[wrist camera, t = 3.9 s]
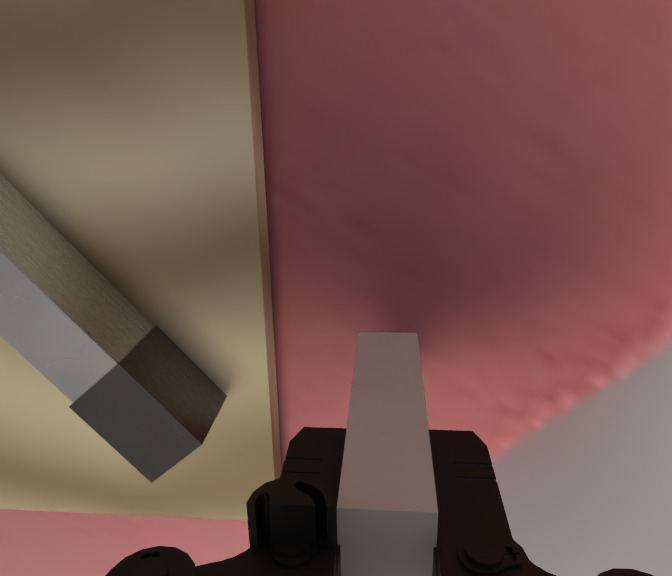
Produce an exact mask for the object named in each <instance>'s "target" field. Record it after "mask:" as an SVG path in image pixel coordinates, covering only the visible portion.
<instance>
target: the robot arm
mask: <svg viewBox="0 0 672 576" xmlns="http://www.w3.org/2000/svg"><path fill="white" fill-rule="evenodd" d="M246 505H247V517H248V529H249V541H250V548H249V549H248V550H246V551H245V552H243V553H241V554H239V555H237V556H235V557H233V558H229V559H226V560H223V561H219V562H214V563H209V564H205V565H200V566H195V563H194V562H193V561H192V559H191V558H190V556H189V555H188V554H187V553H185V552H183V551H181V550H179V549H177V548H175V547H164V546H157V547H152V548H147V549H142V550H140V551H138V552H136V553H134V554H132V555H130V556H128V557H126V558H124V559H123V560H122V561H121V562H119V563H118V564H117V565H116V566H115V567H114V568H112V569H111V570H110V571H109V572H108V574H107V575H106V576H556V575H553V574H551V573H548V572H546V571H544V570H542V569H541V568H539V567H537V566H536V565H534V564H533V563H532V562H531V561H530V560H529V559H528V557H527V555H526V554H525V552H524V550H523V548H522V547H521V546H520V545H519V544H517V543H516V542H515V541H514V540H513V538H512V535H511V531H510V528H509V524H508V521H507V517H506V513H505V510H504V506H503V502H502V499H501V495H500V491H499V488H498V484H497V482H496V477H495V474H494V470H493V467H492V462H491V459H490V455H489V452H488V448H487V446H486V445H485V444H484V443H483V441H482V440H481V439H480V438H479V437H478V436H477V435H476V434H475V433H474V432H473V431H453V430H429V429H428V421H427V412H426V404H425V395H424V386H423V378H422V369H421V361H420V352H419V344H418V335H417V333H388V332H359V333H358V341H357V349H356V357H355V365H354V373H353V381H352V389H351V397H350V405H349V414H348V422H347V429H343V428H313V427H304V428H303V429H302V430H301V431H300V432H299V433H298V434H297V435H296V436H295V437H294V438H293V439H292V440H291V441H290V444H289V447H288V451H287V454H286V460H285V461H284V465H283V468H282V475H281V476H280V478H278V479H275V480H272V481H269V482H266V483H264V484H263V485H262V486H260V487H259V488H258V489H256V490H255V491H253V493H252V494H251V496H250V498H249V499H248V501H247V502H246ZM598 576H653V575H651V574H647V573H644V572H640V571H637V570H634V569H611V570H608V571H605V572H603V573H600V574H599V575H598Z"/></svg>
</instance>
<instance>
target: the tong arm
mask: <svg viewBox="0 0 672 576" xmlns="http://www.w3.org/2000/svg"><path fill="white" fill-rule="evenodd" d="M0 336H1V337H2V338H3V339H5V340H6V341H7V342H8V343H9V344H10V345H11V346H12V347H13V348H14V349H15V350H16V351H18V352H19V353H20V354H21V355H22V356H23V357H24V358H25V359H26V360H27V361H28V362H29V363H31V364H32V365H33V366H34V367H35V368H36V369H37V370H38V371H39V372H40V373H41V374H42V375H44V376H45V377H46V378H47V379H48V380H49V381H50V382H51V383H52V384H53V385H54V386H55V387H57V388H58V389H59V390H60V391H61V392H62V393H63V394H64V395H65V396H66V397H67V398H68V399H70V400H71V401H72V402H73V403H72V404H71V405H70V406H69V408H70V409H72V410H73V411H74V412H75V413H76V414H77V415H78V416H79V417H80V418H81V419H82V420H84V421H85V422H86V423H87V424H88V425H89V426H90V427H91V428H92V429H93V430H94V431H95V432H97V433H98V434H99V435H100V436H101V437H102V438H103V439H104V440H105V441H106V442H107V443H108V444H110V445H111V446H112V447H113V448H114V449H115V450H116V451H117V452H118V453H119V454H120V455H122V456H123V457H124V458H125V459H126V460H127V461H128V462H129V463H130V464H131V465H132V466H133V467H135V468H136V469H137V470H138V471H139V472H140V473H141V474H142V475H143V476H144V477H145V478H147V479H148V480H149V481H150V482H151V483H152V482H154V481H155V480H156V479H158V478H159V477H160V476H161V475H163V474H164V473H165V472H167V471H168V470H169V469H171V468H172V467H173V466H175V465H176V464H177V463H179V462H180V461H181V460H183V459H184V458H185V457H186V456H188V455H189V454H190V453H192V452H193V451H194V450H196V449H197V448H198V447H200V446H201V445H202V444H203V442H204V440H205V438H206V436H207V434H208V432H209V430H210V428H211V426H212V425H213V423H214V421H215V419H216V417H217V415H218V413H219V411H220V409H221V407H222V405H223V403H224V401H225V399H226V397H227V395H226V394H225V393H224V392H223V391H222V390H221V389H220V388H219V387H218V386H217V385H216V384H215V383H214V382H213V381H212V380H211V379H210V378H209V377H208V376H207V375H206V374H205V373H204V372H203V371H202V370H201V369H200V368H199V367H198V366H197V365H196V364H195V363H194V362H193V361H192V360H191V359H190V358H189V357H188V356H187V355H186V354H185V353H184V352H183V351H182V350H181V349H180V348H179V347H178V346H177V345H176V344H175V343H174V342H173V341H172V340H171V339H170V338H169V337H168V336H167V335H166V334H165V333H164V332H163V331H162V330H161V329H160V328H159V327H158V326H157V325H155V326H153V325H152V324H151V323H150V322H149V321H148V320H147V319H146V318H145V317H144V316H143V315H142V314H141V313H140V312H139V311H138V310H137V309H136V308H135V307H134V306H133V305H132V304H131V303H130V302H129V301H128V300H127V299H126V298H125V297H124V296H123V295H122V294H121V293H120V292H119V291H118V290H117V289H116V288H115V287H114V286H113V285H112V284H111V283H110V282H109V281H108V280H107V279H106V278H105V277H104V276H103V275H102V274H101V273H100V272H99V271H98V270H97V269H96V268H95V267H94V266H93V265H92V264H91V263H90V262H89V261H88V260H87V259H86V258H85V257H84V256H83V255H82V254H81V253H80V252H79V251H78V250H77V249H76V248H74V247H73V246H72V245H71V244H70V243H69V242H68V241H67V240H66V239H65V238H64V237H63V236H62V235H61V234H60V233H59V232H58V231H57V230H56V229H55V228H54V227H53V226H52V225H51V224H50V223H49V222H48V221H47V220H46V219H45V218H44V217H43V216H42V215H41V214H40V213H39V212H38V211H37V210H36V209H35V208H34V207H33V206H32V205H31V204H30V203H29V202H28V201H27V200H26V199H25V198H24V197H23V196H22V195H21V194H20V193H19V192H18V191H17V190H16V189H15V188H14V187H13V186H12V185H11V184H10V183H9V182H8V181H7V180H6V179H5V178H4V177H3V176H2V175H1V174H0Z"/></svg>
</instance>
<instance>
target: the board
mask: <svg viewBox="0 0 672 576" xmlns="http://www.w3.org/2000/svg"><path fill="white" fill-rule="evenodd" d="M0 174H1V175H2V176H3V177H4V178H5V179H6V180H7V181H8V182H9V183H10V184H11V185H12V186H13V187H14V188H15V189H16V190H17V191H18V192H19V193H20V194H21V195H22V196H23V197H24V198H25V199H26V200H27V201H28V202H29V203H30V204H31V205H32V206H33V207H34V208H35V209H36V210H37V211H38V212H39V213H40V214H41V215H42V216H43V217H44V218H45V219H46V220H47V221H48V222H49V223H50V224H51V225H52V226H53V227H54V228H55V229H56V230H57V231H58V232H59V233H60V234H61V235H62V236H63V237H64V238H65V239H66V240H67V241H68V242H69V243H70V244H71V245H72V246H73V247H74V248H76V249H77V250H78V251H79V252H80V253H81V254H82V255H83V256H84V257H85V258H86V259H87V260H88V261H89V262H90V263H91V264H92V265H93V266H94V267H95V268H96V269H97V270H98V271H99V272H100V273H101V274H102V275H103V276H104V277H105V278H106V279H107V280H108V281H109V282H110V283H111V284H112V285H113V286H114V287H115V288H116V289H117V290H118V291H119V292H120V293H121V294H122V295H123V296H124V297H125V298H126V299H127V300H128V301H129V302H130V303H131V304H132V305H133V306H134V307H135V308H136V309H137V310H138V311H139V312H140V313H141V314H142V315H143V316H144V317H145V318H146V319H147V320H148V321H149V322H150V323H151V324H152V325H153V326H155V325H157V326H158V327H159V328H160V329H161V330H162V331H163V332H164V333H165V334H166V335H167V336H168V337H169V338H170V339H171V340H172V341H173V342H174V343H175V344H176V345H177V346H178V347H179V348H180V349H181V350H182V351H183V352H184V353H185V354H186V355H187V356H188V357H189V358H190V359H191V360H192V361H193V362H194V363H195V364H196V365H197V366H198V367H199V368H200V369H201V370H202V371H203V372H204V373H205V374H206V375H207V376H208V377H209V378H210V379H211V380H212V381H213V382H214V383H215V384H216V385H217V386H218V387H219V388H220V389H221V390H222V391H223V392H224V393H225V394H226V395H227V397H226V399H225V401H224V403H223V405H222V407H221V409H220V411H219V413H218V415H217V417H216V419H215V421H214V423H213V425H212V426H211V428H210V430H209V432H208V434H207V436H206V438H205V440H204V442H203V444H202V445H201V446H200V447H198V448H197V449H196V450H194V451H193V452H192V453H190V454H189V455H188V456H186V457H185V458H184V459H183V460H181V461H180V462H179V463H177V464H176V465H175V466H173V467H172V468H171V469H169V470H168V471H167V472H165V473H164V474H163V475H161V476H160V477H159V478H158V479H156V480H155V481H154V482H152V483H151V482H150V481H149V480H148V479H147V478H145V477H144V476H143V475H142V474H141V473H140V472H139V471H138V470H137V469H136V468H135V467H133V466H132V465H131V464H130V463H129V462H128V461H127V460H126V459H125V458H124V457H123V456H122V455H120V454H119V453H118V452H117V451H116V450H115V449H114V448H113V447H112V446H111V445H110V444H108V443H107V442H106V441H105V440H104V439H103V438H102V437H101V436H100V435H99V434H98V433H97V432H95V431H94V430H93V429H92V428H91V427H90V426H89V425H88V424H87V423H86V422H85V421H84V420H82V419H81V418H80V417H79V416H78V415H77V414H76V413H75V412H74V411H73V410H72V409H70V408H69V406H70V405H71V404H72V403H73V402H72V401H71V400H70V399H68V398H67V397H66V396H65V395H64V394H63V393H62V392H61V391H60V390H59V389H58V388H57V387H55V386H54V385H53V384H52V383H51V382H50V381H49V380H48V379H47V378H46V377H45V376H44V375H42V374H41V373H40V372H39V371H38V370H37V369H36V368H35V367H34V366H33V365H32V364H31V363H29V362H28V361H27V360H26V359H25V358H24V357H23V356H22V355H21V354H20V353H19V352H18V351H16V350H15V349H14V348H13V347H12V346H11V345H10V344H9V343H8V342H7V341H6V340H5V339H3V338H2V337H1V336H0V509H13V510H34V511H56V512H77V513H99V514H121V515H142V516H164V517H186V518H207V519H229V520H248V517H247V505H246V502H247V501H248V499H249V498H250V496H251V494H252V493H253V491H255V490H256V489H258V488H259V487H260V486H262V485H263V484H264V483H266V482H269V481H272V480H275V479H278V478H280V476H281V475H282V462H281V445H280V428H279V411H278V394H277V377H276V360H275V343H274V326H273V309H272V292H271V275H270V258H269V241H268V224H267V207H266V190H265V173H264V156H263V139H262V122H261V105H260V88H259V71H258V54H257V37H256V20H255V3H254V0H0Z"/></svg>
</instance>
